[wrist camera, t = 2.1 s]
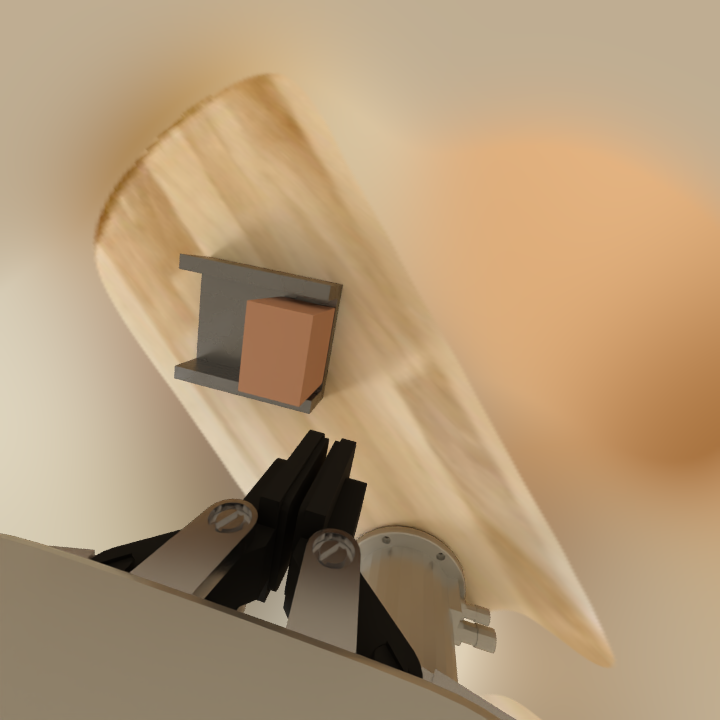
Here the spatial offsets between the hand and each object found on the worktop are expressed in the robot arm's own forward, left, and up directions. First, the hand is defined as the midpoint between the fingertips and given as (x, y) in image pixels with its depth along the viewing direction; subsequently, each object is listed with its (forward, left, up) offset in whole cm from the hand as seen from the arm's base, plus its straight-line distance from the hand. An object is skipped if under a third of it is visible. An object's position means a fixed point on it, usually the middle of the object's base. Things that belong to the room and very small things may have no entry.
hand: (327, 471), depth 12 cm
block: (+7, 0, -18) cm, 19 cm away
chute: (+11, 0, -19) cm, 22 cm away
